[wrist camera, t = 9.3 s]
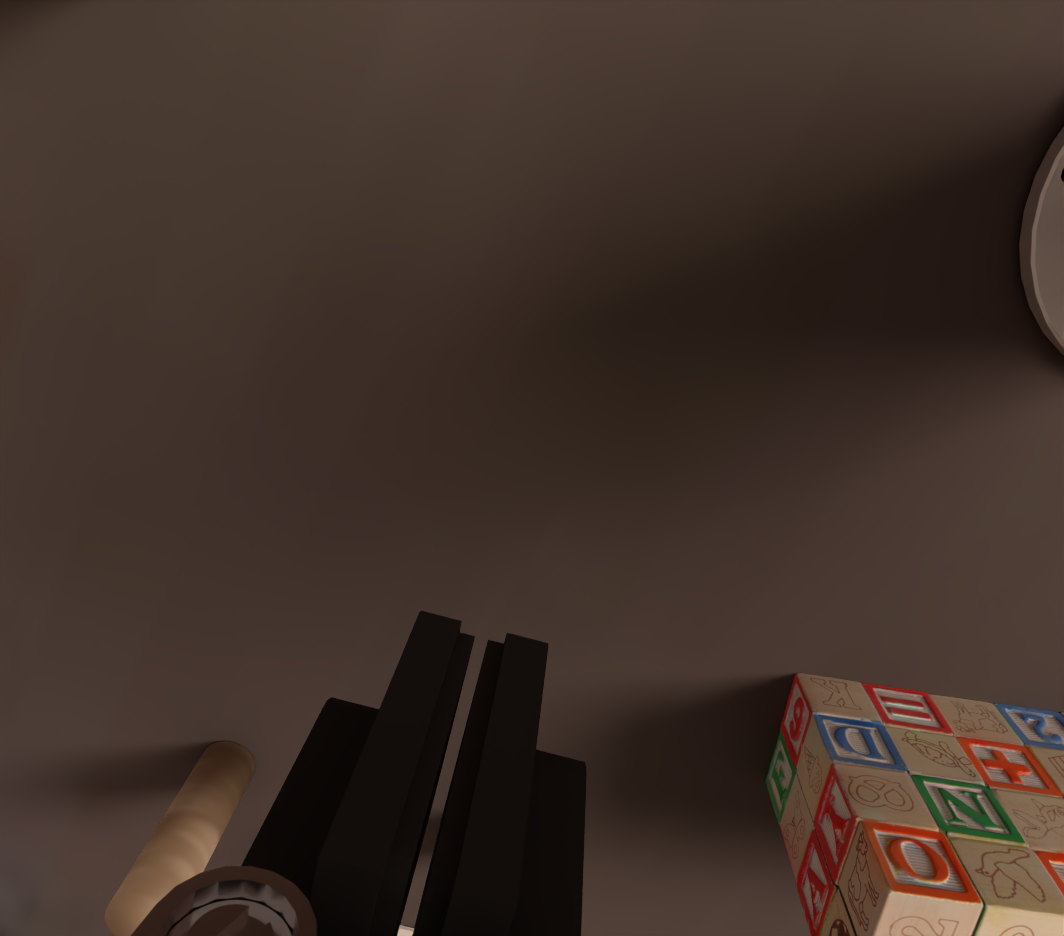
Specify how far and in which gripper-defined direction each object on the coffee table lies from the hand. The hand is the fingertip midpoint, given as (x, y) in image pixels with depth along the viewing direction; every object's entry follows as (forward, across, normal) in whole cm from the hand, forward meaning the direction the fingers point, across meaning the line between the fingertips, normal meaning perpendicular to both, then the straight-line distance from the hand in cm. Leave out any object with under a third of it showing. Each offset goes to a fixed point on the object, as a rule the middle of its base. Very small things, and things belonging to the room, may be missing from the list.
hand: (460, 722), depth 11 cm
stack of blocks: (+25, -25, +14) cm, 38 cm away
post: (+23, +10, +24) cm, 35 cm away
